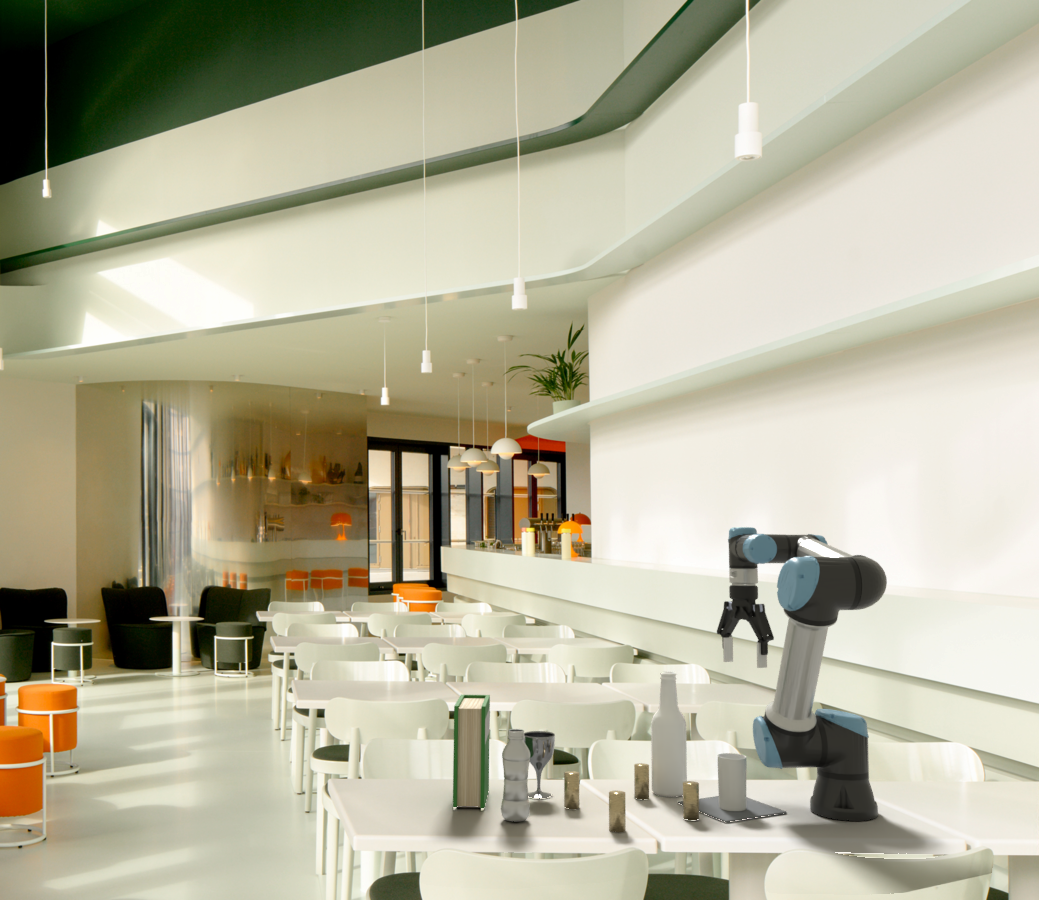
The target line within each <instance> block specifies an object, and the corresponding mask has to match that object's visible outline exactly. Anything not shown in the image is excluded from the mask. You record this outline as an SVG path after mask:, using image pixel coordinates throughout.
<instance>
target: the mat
mask: <svg viewBox="0 0 1039 900" xmlns="http://www.w3.org/2000/svg"><path fill="white" fill-rule="evenodd" d="M678 803H680V804H682V805H683V800H682V801H681V800H680V801H677V804H678ZM682 805H681V806H682ZM699 811H700V812H702V813H705V814H707V815H709V816H712V817H714V818H717V819H720V820H722V821H725V822H730V821H735V820H742V819H747V818H755V817H761V816H768V815H774V814H782V815H784V814H783V813H788V812H787V810H784V809H780V808H777V807H776V806H775V807H774V806H772V805H769V804H767V803H764V802H760V801H759V800H756V799H752V798H750V797H747V796H746V809H745V810H744V811H736V812H735V811H726V810H723V809H721V808H720V807H719V795H715V796H709V797H702V798H699ZM709 816H708V817H709ZM714 818H713V819H714Z"/></svg>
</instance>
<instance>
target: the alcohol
mask: <svg viewBox="0 0 1039 900" xmlns="http://www.w3.org/2000/svg"><path fill="white" fill-rule="evenodd" d="M676 676H677V673H676V672H675V671H674V672H673V671H662V672H661V673H660V687H659V688H660V692H659V705H658V709H657V710H656V711H655V713H653V716H652V718H651V721H650V725H651V726H650V727H651V729H650V730H651V732H650V733H651V735H650V737H651V738H650V739H651V741H650V742H651V750H650V751H651V791H652V792H653V794H654V795H656V796H658V795H659V796H658V797H662V796H665V797H664V798H677V797H676V796H681V797H683V796H682V795H683V782H685V781H688V772H687V771H688V770H687V769H688V768H687V767H688V766H687V765H688V764H687V763H688V762H687V760H688V759H687V758H688V757H687V755H688V754H687V722H686V718H685V716H684V714H683V713H682V712H681V710H680V708H679V705H678V704H679V703H678V692H677V677H676Z"/></svg>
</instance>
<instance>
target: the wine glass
mask: <svg viewBox="0 0 1039 900" xmlns="http://www.w3.org/2000/svg"><path fill="white" fill-rule="evenodd" d="M524 736H525V739H523V741H524V743H525V744H526V745H527V747H528V749H529V751H530V762H529V764H531V766H532V767H533V769H534V770H535V774H536V791H532V792H528V796H529V797H532V798H539V799H540V798H547V797H549V796H551V794H552V793H549V792H545V791H542V790H541V779H542V773H543V771H544V768H545V767H546V766H547V765H548V764H549V762H550V761H551V759H552V758H553V755H554V751H555V745H556V743H555V741H556V735H555V733H554V732H552V731H545V730H533V731H526V732H525V731H524Z"/></svg>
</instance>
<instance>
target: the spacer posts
mask: <svg viewBox="0 0 1039 900" xmlns="http://www.w3.org/2000/svg"><path fill="white" fill-rule="evenodd" d="M633 766H634V769H633V770H634V771H633V772H634V773H633V775H634V781H633V782H634V790H633V791H634V799H635V798H637V799H642V800H641V801H645V800H644V799H648V800H649V799H650V765H649V764H648V763H642V762H641V763H634V764H633ZM563 773H564V774H563V776H564V777H563V778H564V779H563V785H564V786H563V787H564V788H563V789H564V790H563V792H564V793H563V795H564V796H563V798H564V799H563V802H564V803H563V808H564V807H566V808H569V809H576V810H578V808H579V809H580V772H579V771H575V770H573V771H571V770H570V771H569V770H568V771H565V772H563ZM637 799H636V800H637ZM699 799H700V783H699V782H697V781H693V780H691V781H690V780H687V781H685V782H683V796H682V801H683V806H682V811H683V812H682V813H683V814H682V816H683V817H682V818H684V819H688V820H697V819H699V820H700V813H699ZM569 809H568V810H569ZM684 819H683V820H684ZM626 829H627V828H626V792H625V791H623V790H609V792H608V831H609V832H611V833H615V834H617V833H618V834H621V833H625V832H626Z"/></svg>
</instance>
